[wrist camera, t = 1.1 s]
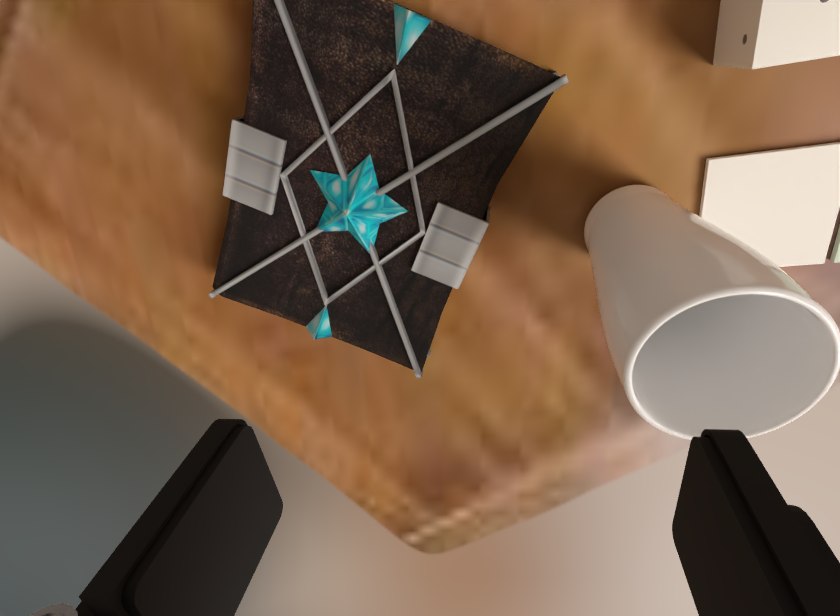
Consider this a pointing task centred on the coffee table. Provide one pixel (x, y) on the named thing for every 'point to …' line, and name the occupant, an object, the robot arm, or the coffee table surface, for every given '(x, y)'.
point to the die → (776, 32)
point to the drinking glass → (703, 320)
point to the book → (367, 168)
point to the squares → (777, 201)
